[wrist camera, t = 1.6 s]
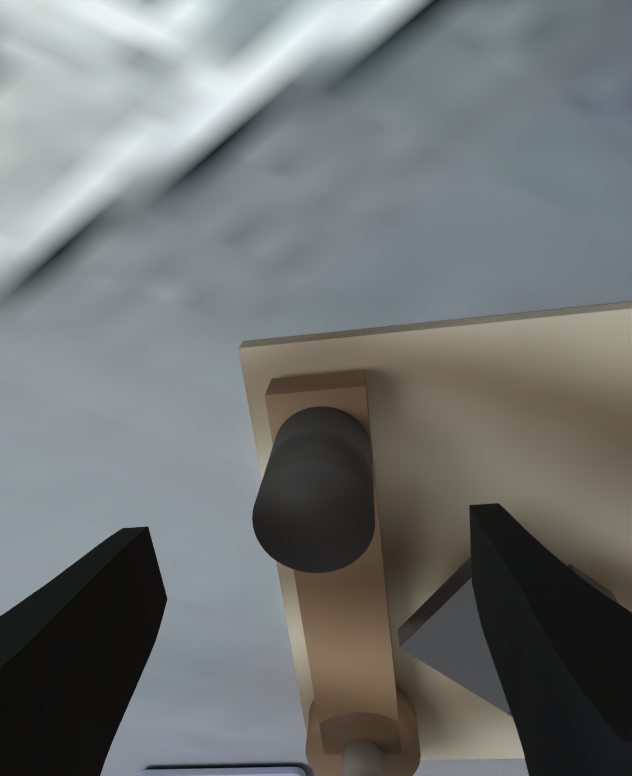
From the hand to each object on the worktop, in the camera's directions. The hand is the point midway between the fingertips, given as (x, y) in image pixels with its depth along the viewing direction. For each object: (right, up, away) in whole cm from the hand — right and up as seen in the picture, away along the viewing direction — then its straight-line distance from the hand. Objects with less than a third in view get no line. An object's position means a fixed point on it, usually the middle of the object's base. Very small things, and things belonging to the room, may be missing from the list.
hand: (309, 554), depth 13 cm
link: (+1, -4, +8) cm, 9 cm away
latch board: (+6, -3, +9) cm, 11 cm away
